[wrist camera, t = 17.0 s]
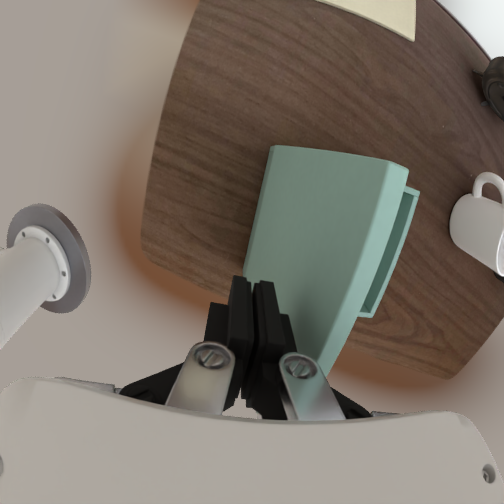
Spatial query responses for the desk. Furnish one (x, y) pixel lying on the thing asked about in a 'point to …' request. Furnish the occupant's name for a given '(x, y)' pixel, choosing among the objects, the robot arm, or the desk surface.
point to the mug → (480, 224)
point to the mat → (383, 13)
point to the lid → (324, 240)
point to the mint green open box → (388, 256)
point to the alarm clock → (494, 85)
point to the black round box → (499, 277)
